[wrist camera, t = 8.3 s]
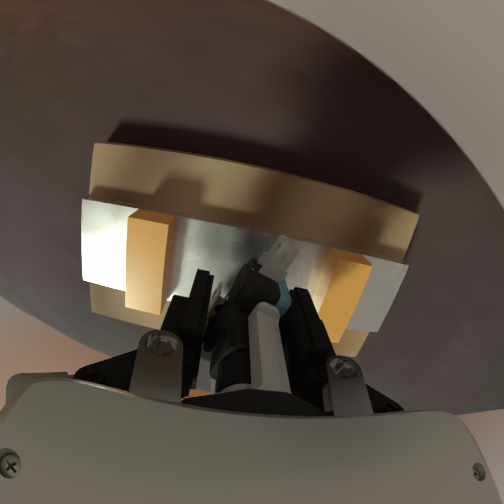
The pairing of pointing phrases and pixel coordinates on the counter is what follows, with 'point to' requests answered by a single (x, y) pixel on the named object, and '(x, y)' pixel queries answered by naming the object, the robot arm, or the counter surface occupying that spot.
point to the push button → (252, 340)
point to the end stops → (158, 264)
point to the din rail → (225, 256)
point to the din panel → (243, 210)
